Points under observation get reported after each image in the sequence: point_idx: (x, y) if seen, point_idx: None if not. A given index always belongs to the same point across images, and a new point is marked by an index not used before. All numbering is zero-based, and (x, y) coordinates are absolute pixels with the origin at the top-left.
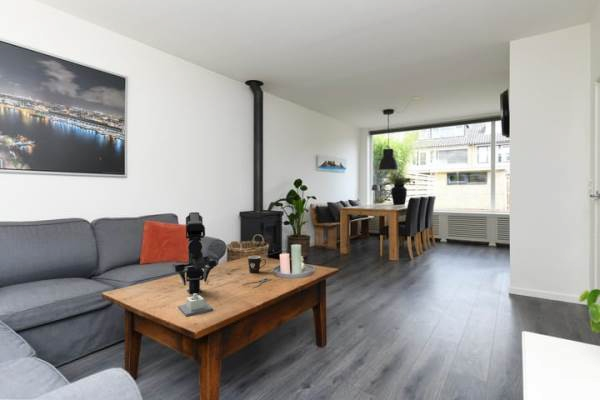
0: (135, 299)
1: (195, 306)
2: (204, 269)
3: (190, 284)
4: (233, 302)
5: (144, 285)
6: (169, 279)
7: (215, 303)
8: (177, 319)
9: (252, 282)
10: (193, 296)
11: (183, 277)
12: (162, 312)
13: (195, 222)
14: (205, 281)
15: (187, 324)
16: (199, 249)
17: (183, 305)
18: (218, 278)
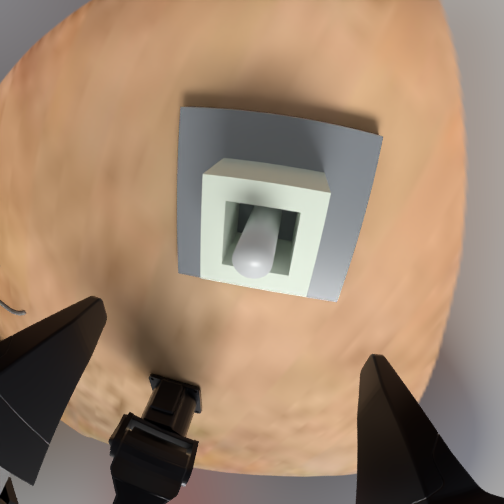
0: None
1: (287, 172)
2: (33, 446)
3: (184, 422)
4: (59, 159)
5: (286, 473)
6: (214, 466)
7: (131, 209)
8: (434, 133)
9: (2, 304)
10: (274, 249)
11: (440, 457)
12: (421, 292)
13: None
14: (90, 299)
15: (421, 20)
16: None
17: (311, 287)
18: (89, 401)
